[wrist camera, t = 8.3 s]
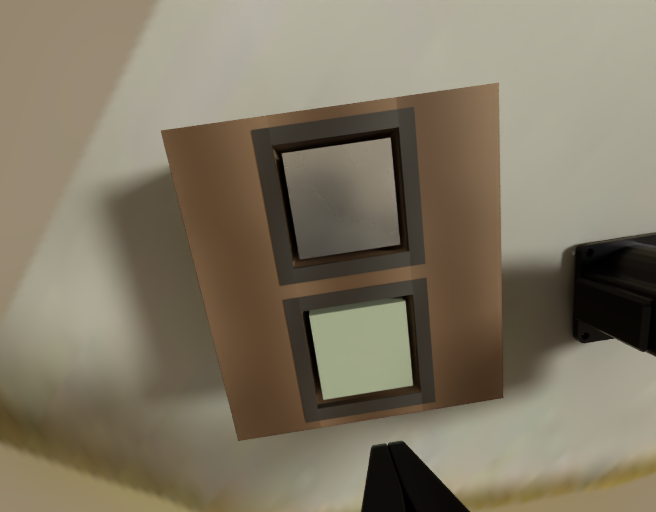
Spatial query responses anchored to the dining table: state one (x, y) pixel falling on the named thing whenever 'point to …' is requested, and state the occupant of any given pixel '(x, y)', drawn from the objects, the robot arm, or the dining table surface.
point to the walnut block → (348, 255)
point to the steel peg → (342, 198)
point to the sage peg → (362, 347)
